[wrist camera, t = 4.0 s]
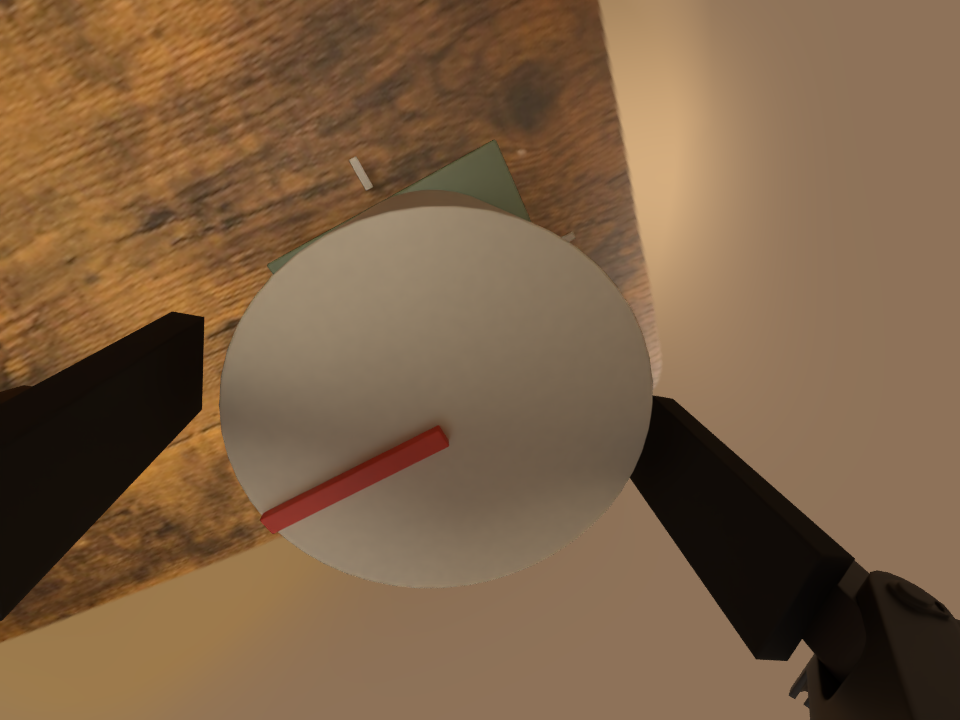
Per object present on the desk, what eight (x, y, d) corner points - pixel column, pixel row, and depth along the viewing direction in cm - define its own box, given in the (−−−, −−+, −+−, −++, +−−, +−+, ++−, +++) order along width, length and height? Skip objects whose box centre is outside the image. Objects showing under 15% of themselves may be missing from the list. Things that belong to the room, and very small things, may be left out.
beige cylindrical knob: (485, 144, 20) (563, 103, 9) (575, 346, 24) (706, 494, 13) (274, 260, 21) (100, 358, 10) (397, 436, 25) (374, 649, 14)
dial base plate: (498, 82, 22) (508, 70, 19) (606, 344, 27) (624, 361, 25) (228, 233, 23) (204, 240, 20) (387, 454, 29) (383, 481, 26)
